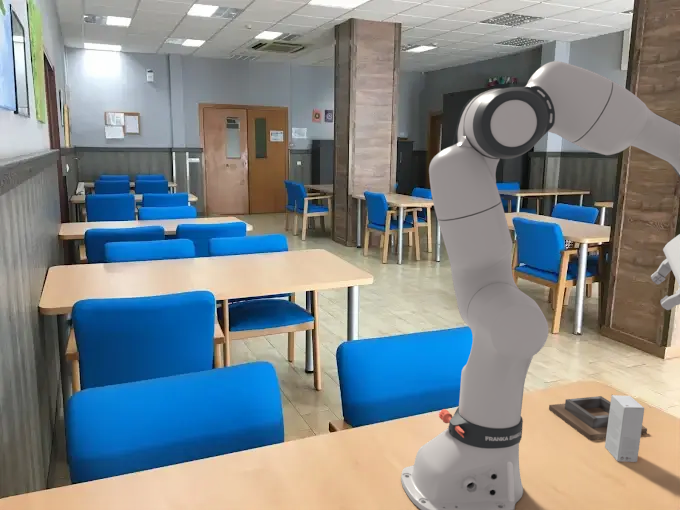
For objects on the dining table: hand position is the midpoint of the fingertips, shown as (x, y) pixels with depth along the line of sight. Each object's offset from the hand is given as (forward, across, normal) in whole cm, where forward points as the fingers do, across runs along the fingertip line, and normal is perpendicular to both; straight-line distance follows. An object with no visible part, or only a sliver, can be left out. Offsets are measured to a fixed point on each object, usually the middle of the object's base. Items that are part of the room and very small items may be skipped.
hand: (658, 293), depth 107 cm
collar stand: (+35, -8, +20) cm, 42 cm away
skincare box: (+30, +6, +20) cm, 37 cm away
